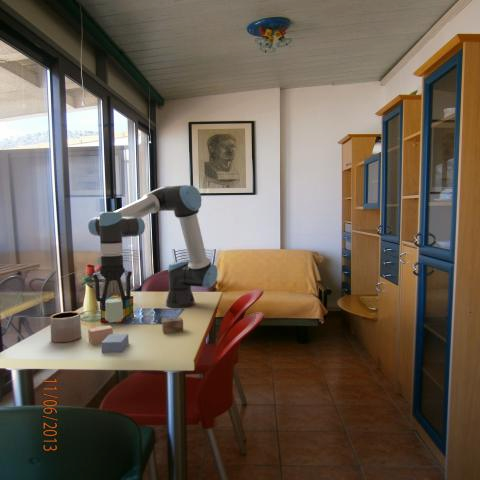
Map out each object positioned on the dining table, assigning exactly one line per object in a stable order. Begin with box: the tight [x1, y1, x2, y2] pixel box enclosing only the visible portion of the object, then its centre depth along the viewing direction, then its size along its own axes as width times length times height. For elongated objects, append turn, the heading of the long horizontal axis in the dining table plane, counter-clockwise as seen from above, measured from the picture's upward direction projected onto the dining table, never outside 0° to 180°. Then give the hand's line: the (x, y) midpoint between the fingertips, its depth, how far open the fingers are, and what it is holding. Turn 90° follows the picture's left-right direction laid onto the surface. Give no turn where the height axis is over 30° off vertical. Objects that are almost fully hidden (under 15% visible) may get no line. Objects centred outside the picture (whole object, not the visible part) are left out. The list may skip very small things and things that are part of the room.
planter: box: [49, 311, 82, 344], centre depth 149 cm, size 11×11×10 cm
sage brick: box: [106, 298, 122, 322], centre depth 137 cm, size 4×6×7 cm
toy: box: [99, 295, 135, 324], centre depth 174 cm, size 11×10×10 cm
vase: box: [99, 278, 126, 298], centre depth 203 cm, size 13×13×18 cm
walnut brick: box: [161, 316, 184, 335], centre depth 156 cm, size 8×4×5 cm, turn 108°
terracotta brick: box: [87, 324, 114, 345], centre depth 146 cm, size 8×4×5 cm, turn 124°
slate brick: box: [100, 333, 130, 354], centre depth 138 cm, size 7×9×4 cm
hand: (114, 318), depth 137 cm, fingers closed on sage brick, 4 cm apart
